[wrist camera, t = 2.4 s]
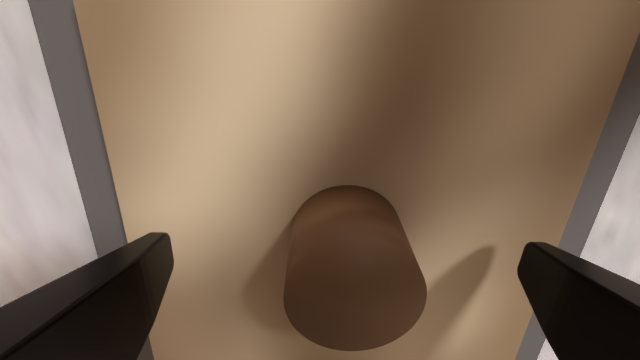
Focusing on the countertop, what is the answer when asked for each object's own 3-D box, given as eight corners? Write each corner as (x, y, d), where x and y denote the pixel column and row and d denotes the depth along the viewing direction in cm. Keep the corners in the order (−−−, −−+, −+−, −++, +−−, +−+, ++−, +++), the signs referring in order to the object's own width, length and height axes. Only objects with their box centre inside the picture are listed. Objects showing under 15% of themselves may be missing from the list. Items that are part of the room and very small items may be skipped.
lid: (622, -1, 8) (807, -15, 5) (494, 363, 13) (548, 467, 10) (89, -23, 8) (-56, -53, 5) (167, 358, 13) (120, 463, 10)
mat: (700, -72, 8) (718, -77, 7) (518, 381, 14) (523, 391, 14) (13, -106, 7) (-3, -112, 7) (138, 375, 14) (133, 385, 13)
